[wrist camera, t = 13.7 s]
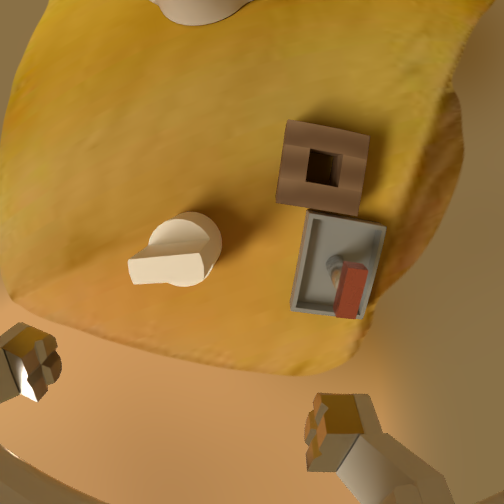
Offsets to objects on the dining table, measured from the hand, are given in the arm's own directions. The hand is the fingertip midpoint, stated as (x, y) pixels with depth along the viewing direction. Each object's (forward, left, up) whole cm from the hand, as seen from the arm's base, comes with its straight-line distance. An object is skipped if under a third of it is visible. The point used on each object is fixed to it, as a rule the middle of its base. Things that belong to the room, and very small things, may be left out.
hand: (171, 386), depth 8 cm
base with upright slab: (+6, -8, -35) cm, 37 cm away
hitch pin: (+6, +13, -34) cm, 37 cm away
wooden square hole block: (-7, +8, -35) cm, 37 cm away
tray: (+6, +13, -35) cm, 38 cm away
